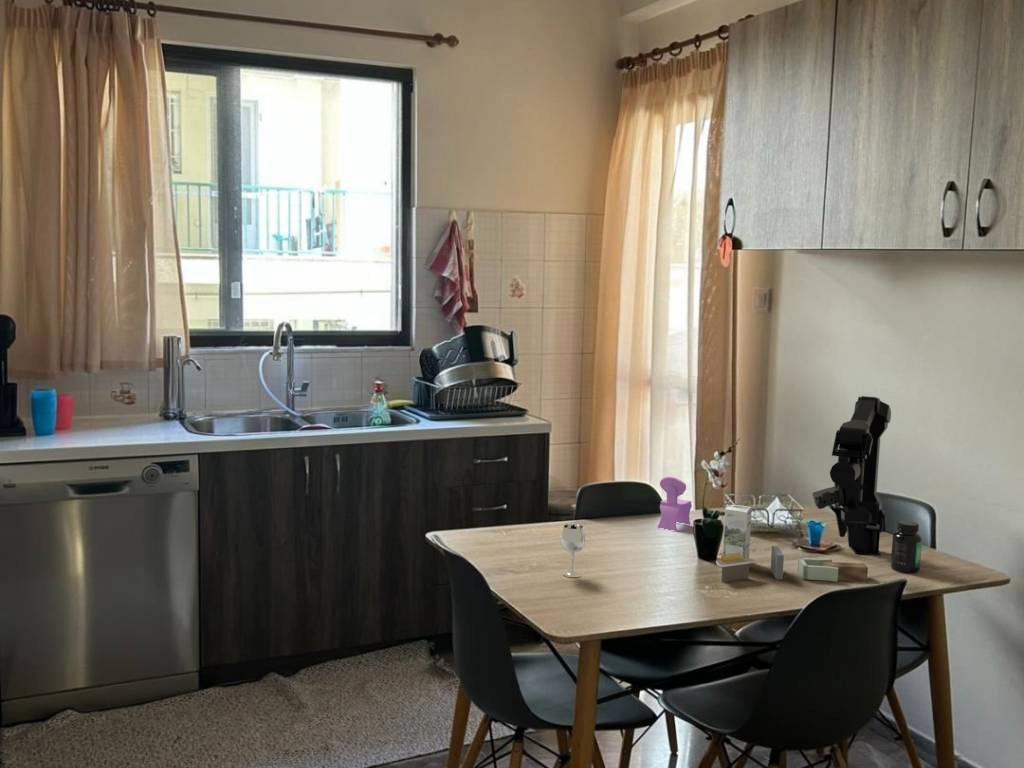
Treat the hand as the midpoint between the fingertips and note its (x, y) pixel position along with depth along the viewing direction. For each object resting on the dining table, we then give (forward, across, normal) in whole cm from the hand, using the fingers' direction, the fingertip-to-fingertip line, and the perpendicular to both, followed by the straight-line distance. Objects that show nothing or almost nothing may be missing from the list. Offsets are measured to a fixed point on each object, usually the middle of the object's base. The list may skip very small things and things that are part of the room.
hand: (846, 541), depth 244 cm
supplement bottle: (+9, -9, +17) cm, 21 cm away
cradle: (+9, 0, -6) cm, 11 cm away
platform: (+10, +5, -27) cm, 29 cm away
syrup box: (+9, -8, -25) cm, 28 cm away
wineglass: (+9, +8, -66) cm, 67 cm away
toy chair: (+9, -41, -38) cm, 57 cm away
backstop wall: (+9, 0, -16) cm, 18 cm away
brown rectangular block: (+9, 0, 0) cm, 9 cm away
